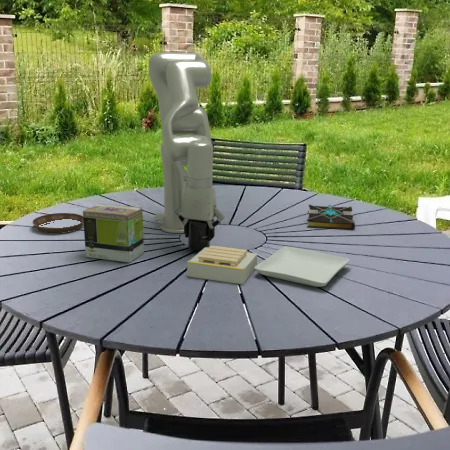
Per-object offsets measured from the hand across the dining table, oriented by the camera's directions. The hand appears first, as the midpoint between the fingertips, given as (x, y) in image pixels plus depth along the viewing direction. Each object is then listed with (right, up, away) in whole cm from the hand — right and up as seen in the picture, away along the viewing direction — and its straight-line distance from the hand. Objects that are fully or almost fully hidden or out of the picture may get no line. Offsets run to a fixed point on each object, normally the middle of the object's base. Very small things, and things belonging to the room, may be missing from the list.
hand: (199, 237), depth 178 cm
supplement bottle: (0, -3, +1) cm, 4 cm away
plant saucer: (-50, +3, +23) cm, 55 cm away
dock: (+7, -9, -15) cm, 19 cm away
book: (+47, +5, +35) cm, 59 cm away
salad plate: (+30, -10, -15) cm, 35 cm away
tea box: (-25, -6, -3) cm, 26 cm away
